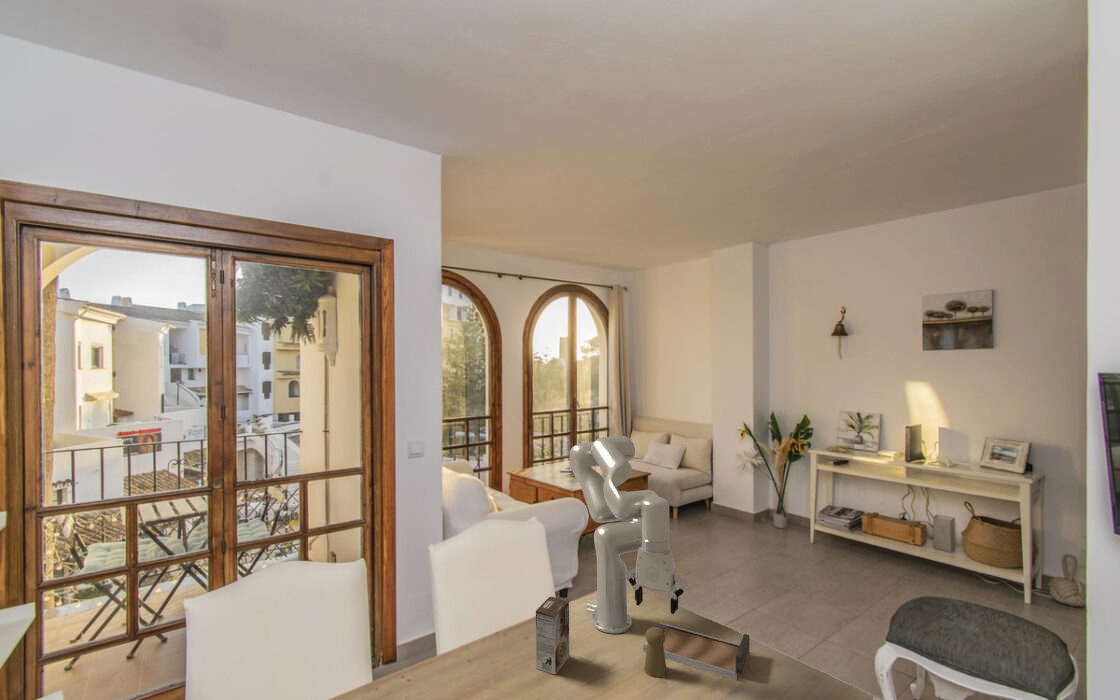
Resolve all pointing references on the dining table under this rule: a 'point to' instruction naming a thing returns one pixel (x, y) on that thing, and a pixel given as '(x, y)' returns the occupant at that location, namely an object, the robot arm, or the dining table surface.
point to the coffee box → (552, 635)
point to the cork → (655, 653)
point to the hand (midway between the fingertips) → (656, 607)
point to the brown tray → (708, 650)
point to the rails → (694, 662)
